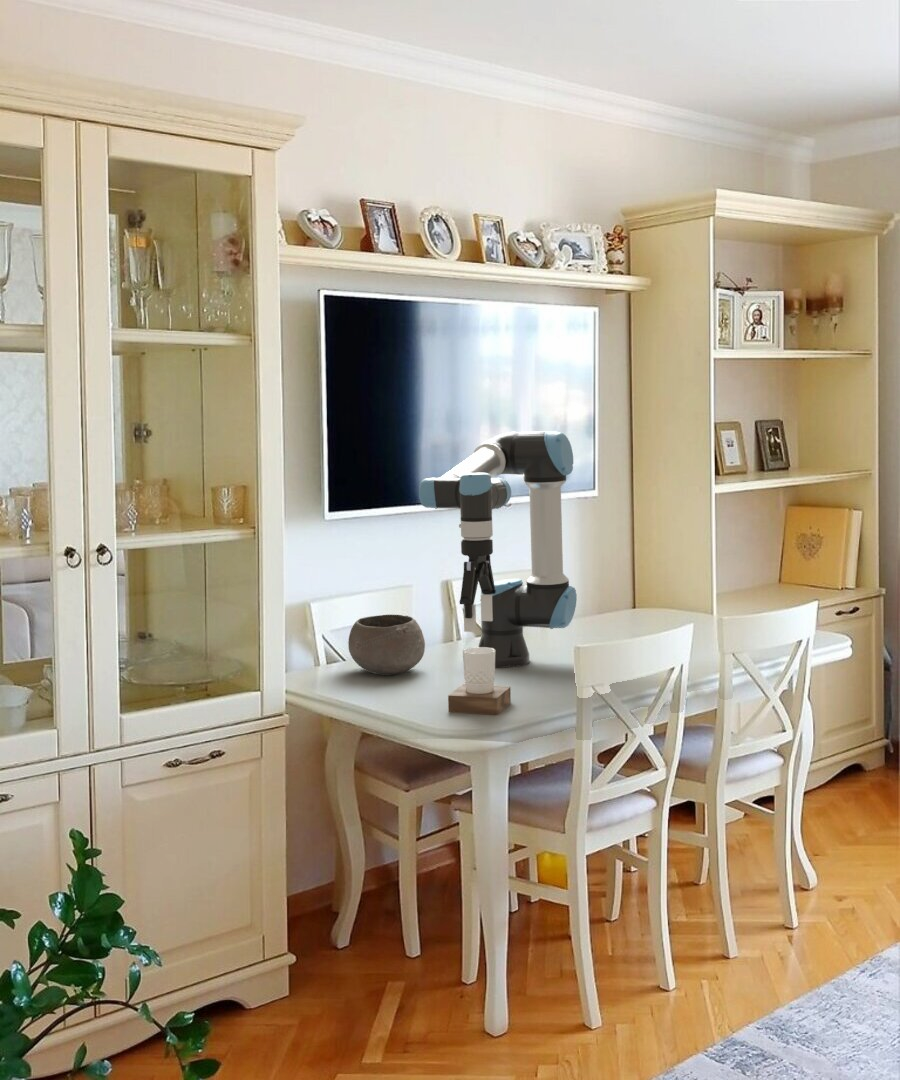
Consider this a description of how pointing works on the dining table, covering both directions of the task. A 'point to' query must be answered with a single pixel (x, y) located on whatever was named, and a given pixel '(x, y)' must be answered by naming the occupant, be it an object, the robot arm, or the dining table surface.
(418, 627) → the clay pot
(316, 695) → the dining table surface
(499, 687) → the walnut plinth
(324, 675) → the dining table surface
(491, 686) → the white cup
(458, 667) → the dining table surface
